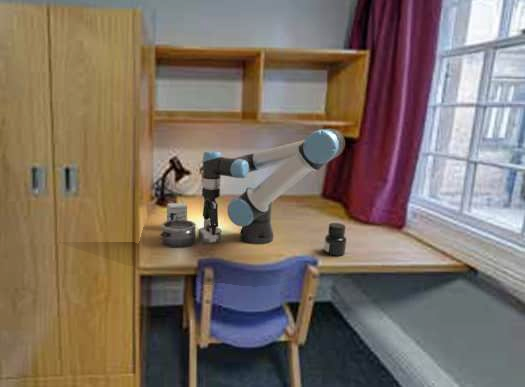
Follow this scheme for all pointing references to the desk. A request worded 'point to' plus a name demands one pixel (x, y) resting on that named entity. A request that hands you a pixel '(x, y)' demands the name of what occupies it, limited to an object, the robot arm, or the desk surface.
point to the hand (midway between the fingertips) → (209, 237)
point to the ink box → (176, 211)
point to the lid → (208, 235)
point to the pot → (178, 233)
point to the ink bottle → (335, 240)
